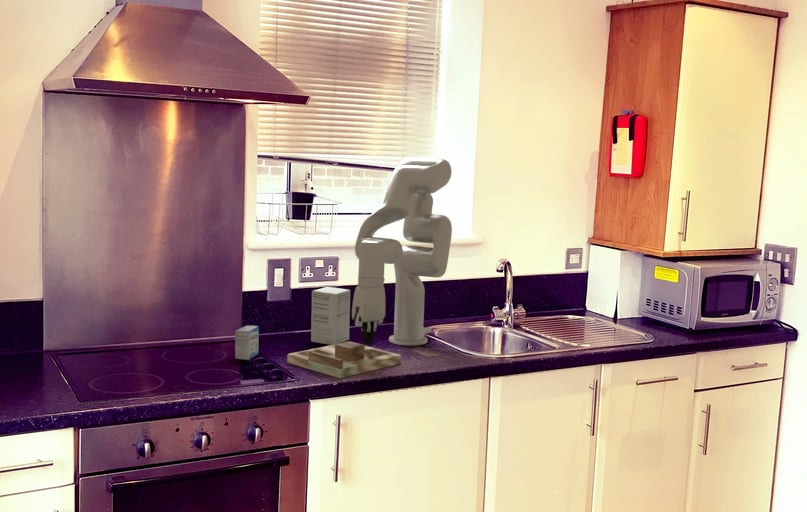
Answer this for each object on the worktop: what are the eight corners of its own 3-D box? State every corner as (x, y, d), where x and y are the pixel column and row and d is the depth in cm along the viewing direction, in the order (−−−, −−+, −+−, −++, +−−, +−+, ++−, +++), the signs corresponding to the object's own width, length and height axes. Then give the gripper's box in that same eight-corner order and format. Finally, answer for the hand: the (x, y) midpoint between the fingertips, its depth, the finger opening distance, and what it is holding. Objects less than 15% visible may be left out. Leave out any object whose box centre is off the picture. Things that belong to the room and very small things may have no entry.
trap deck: (348, 349, 276) (348, 333, 275) (400, 363, 261) (401, 346, 261) (287, 362, 257) (287, 345, 257) (340, 378, 243) (340, 360, 242)
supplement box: (325, 336, 293) (327, 286, 290) (349, 340, 288) (351, 289, 286) (309, 341, 284) (311, 290, 282) (334, 345, 280) (335, 293, 278)
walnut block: (349, 354, 259) (349, 341, 259) (364, 358, 255) (364, 345, 255) (334, 357, 255) (335, 344, 254) (349, 362, 251) (349, 348, 250)
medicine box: (249, 360, 258) (249, 331, 257) (234, 359, 259) (235, 330, 258) (258, 354, 266) (259, 326, 265) (244, 352, 267) (245, 324, 266)
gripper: (379, 279, 266) (376, 339, 268) (343, 282, 255) (341, 345, 257) (397, 282, 261) (394, 343, 263) (362, 286, 250) (359, 349, 252)
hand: (368, 344), depth 260 cm, fingers closed
